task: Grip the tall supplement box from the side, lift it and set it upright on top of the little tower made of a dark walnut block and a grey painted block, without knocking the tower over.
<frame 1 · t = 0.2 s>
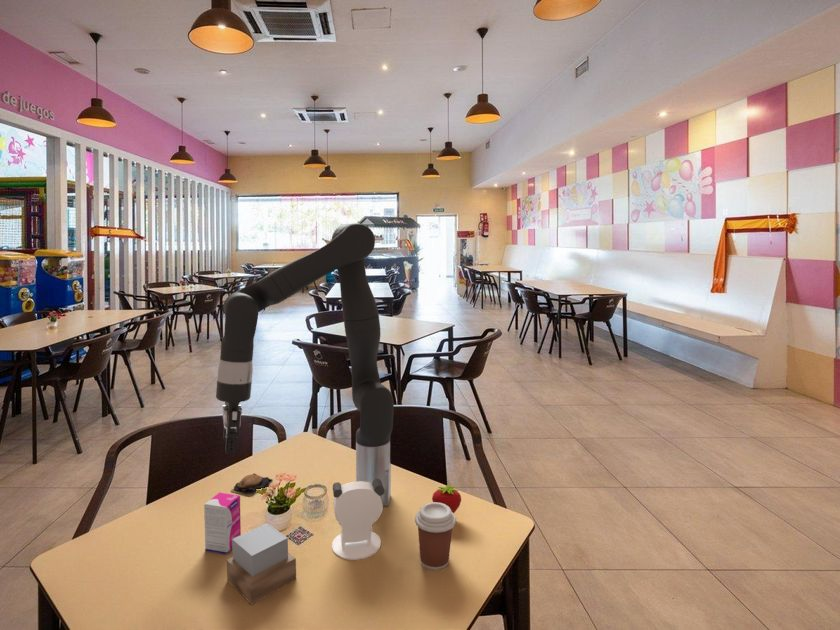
hand: (229, 446, 112), 22 cm above the table, tool pointing down, fingers open, 8 cm apart
supplement box: (223, 546, 111), on the table
coffee cup: (434, 561, 107), on the table
brown flat rounded lump: (252, 488, 139), on the table
strawberry: (446, 518, 123), on the table
panda figurine: (357, 545, 112), on the table
grey top block: (260, 558, 99), point 5 cm above the table, touching walnut base block
walnut base block: (262, 581, 100), on the table, touching grey top block
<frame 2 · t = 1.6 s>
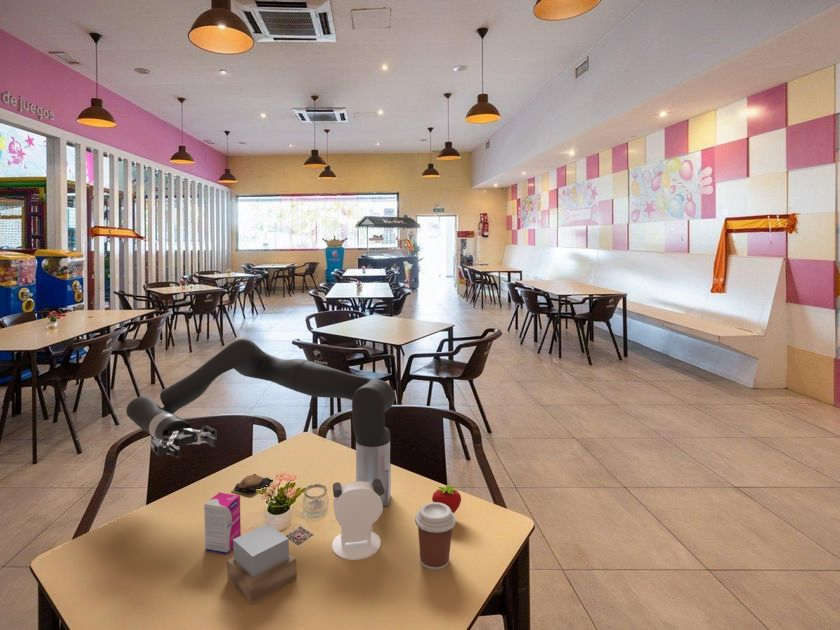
hand: (197, 448, 115), 21 cm above the table, tool horizontal, fingers open, 8 cm apart
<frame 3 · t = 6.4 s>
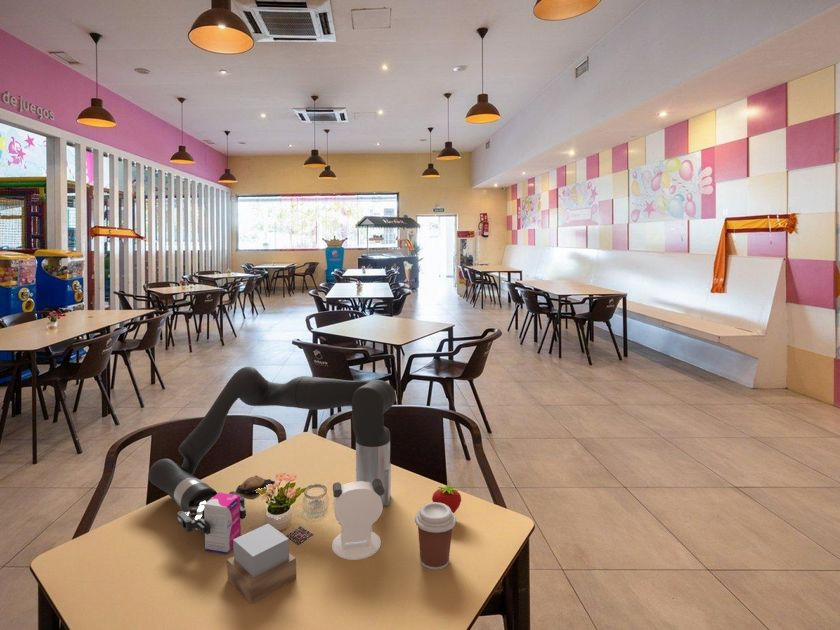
hand: (226, 522, 109), 7 cm above the table, tool horizontal, fingers closed on supplement box, 7 cm apart
supplement box: (223, 546, 111), on the table, touching gripper
brown flat rounded lump: (255, 490, 137), on the table
everything else where it was.
when the fingers open (17 cm above the table, at t = 11.8 s): supplement box drops 2 cm, resting on grey top block.
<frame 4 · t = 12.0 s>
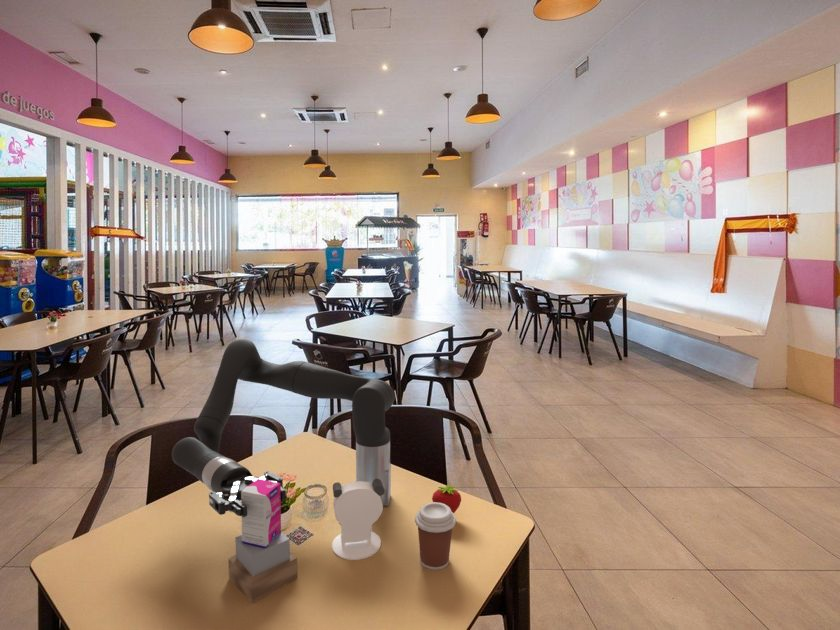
hand: (265, 503, 96), 18 cm above the table, tool horizontal, fingers open, 8 cm apart
supplement box: (262, 539, 99), point 9 cm above the table, touching grey top block, gripper
brown flat rounded lump: (257, 492, 136), on the table
grey top block: (263, 558, 99), point 5 cm above the table, touching supplement box, walnut base block
everything else where it was.
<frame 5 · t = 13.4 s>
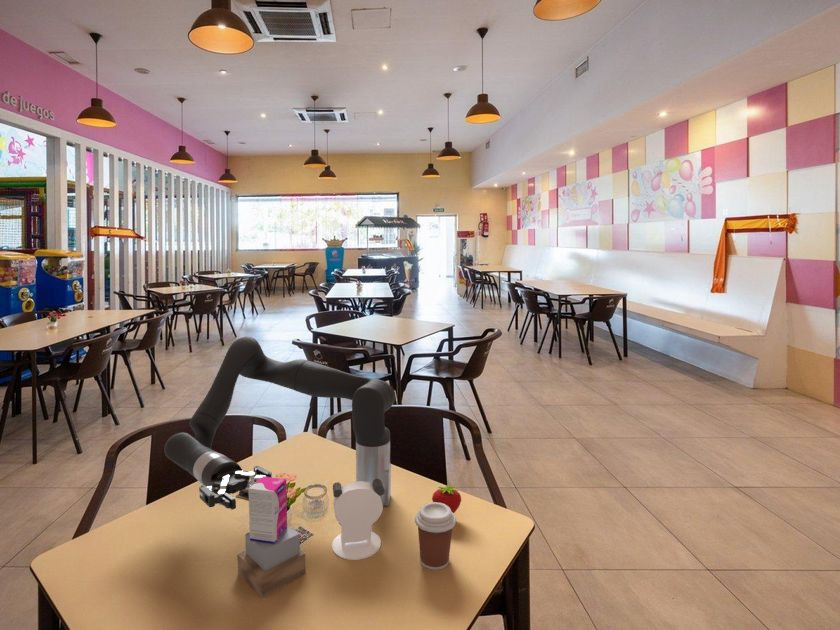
hand: (253, 496, 99), 17 cm above the table, tool horizontal, fingers open, 8 cm apart
supplement box: (269, 535, 100), point 9 cm above the table, touching grey top block
grey top block: (273, 553, 101), point 5 cm above the table, touching supplement box, walnut base block
walnut base block: (272, 575, 101), on the table, touching grey top block
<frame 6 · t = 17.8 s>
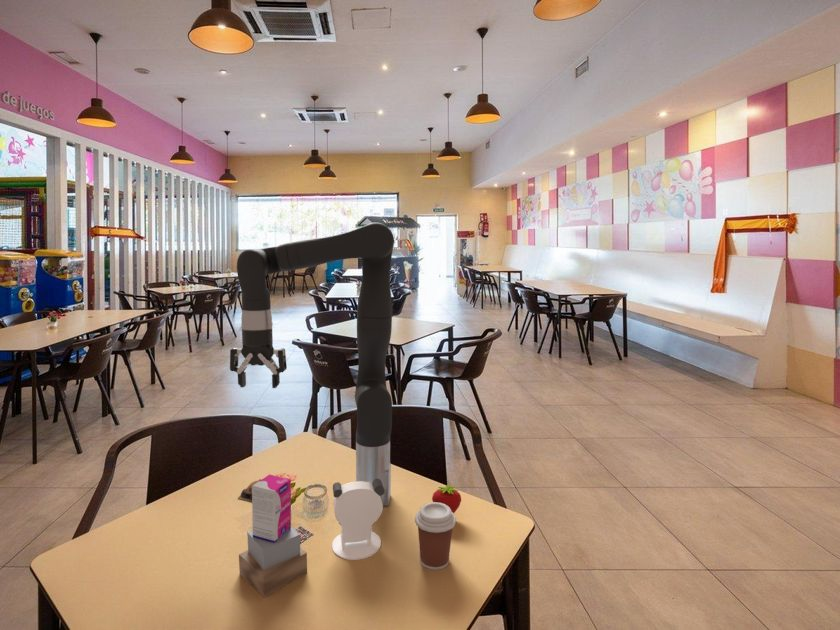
hand: (259, 387, 126), 32 cm above the table, tool pointing down, fingers open, 8 cm apart
brown flat rounded lump: (259, 494, 135), on the table
at the end: supplement box 0.2 cm off-centre on the grey top block, point 4.3 cm above the grey top block's base; supplement box tilted 0°; grey top block tilted 0° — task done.
